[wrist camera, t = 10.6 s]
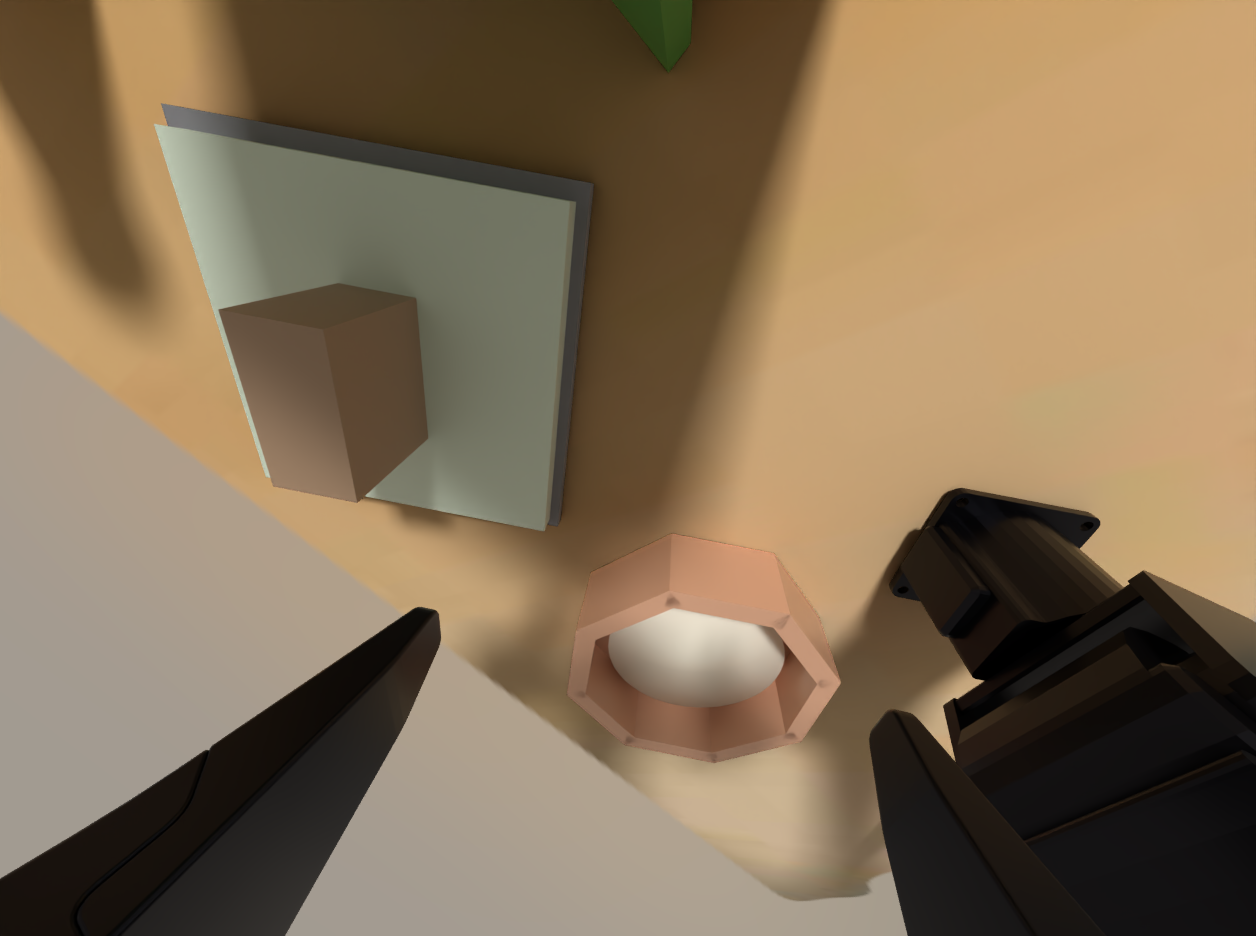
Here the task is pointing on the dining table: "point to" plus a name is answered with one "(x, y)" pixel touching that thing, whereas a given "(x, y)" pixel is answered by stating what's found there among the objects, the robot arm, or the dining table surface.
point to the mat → (453, 170)
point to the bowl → (700, 651)
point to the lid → (384, 323)
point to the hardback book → (660, 26)
